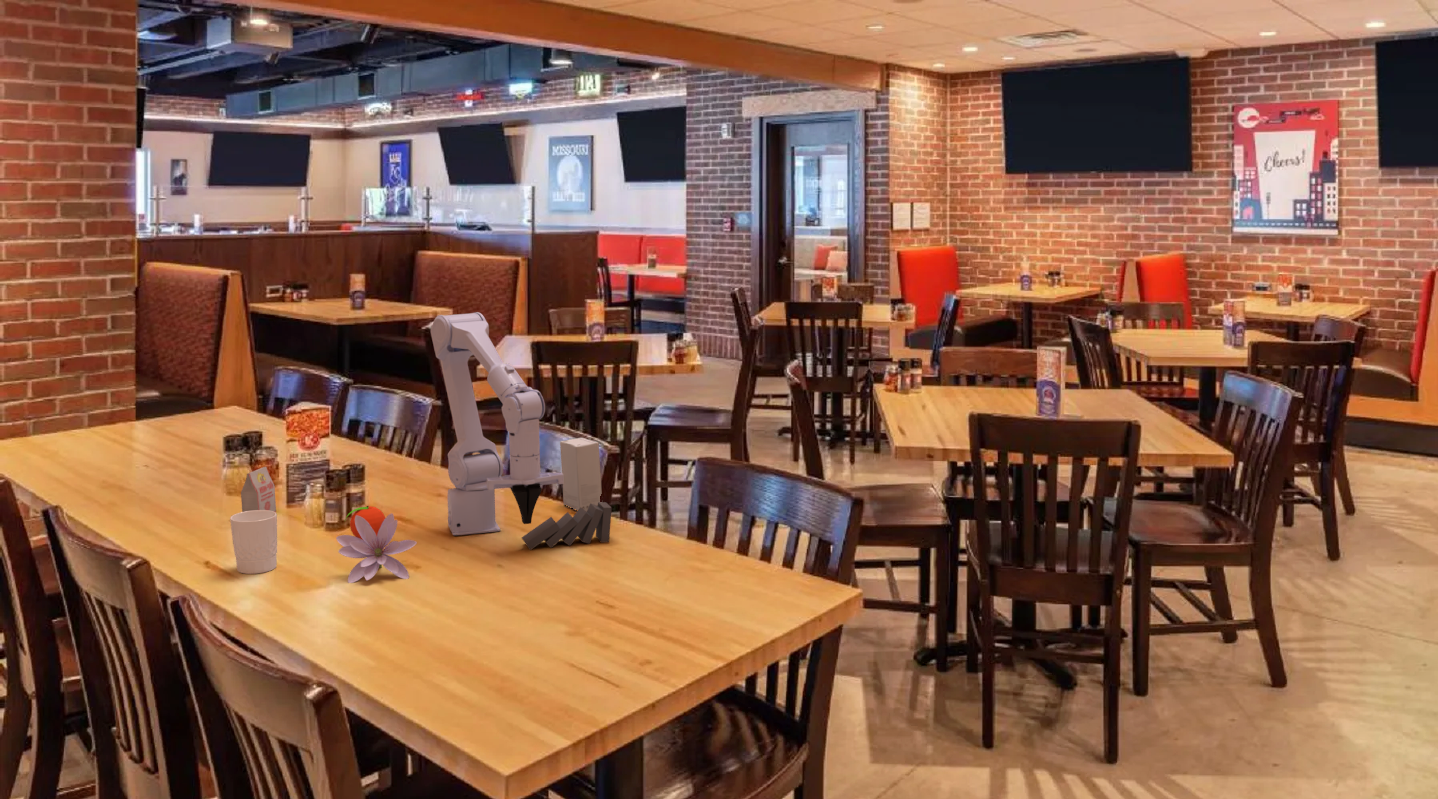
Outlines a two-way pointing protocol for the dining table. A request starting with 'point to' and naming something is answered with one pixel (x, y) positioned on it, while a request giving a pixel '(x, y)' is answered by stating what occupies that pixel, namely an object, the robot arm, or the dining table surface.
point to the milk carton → (258, 491)
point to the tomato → (367, 519)
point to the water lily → (374, 549)
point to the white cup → (255, 540)
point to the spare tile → (577, 526)
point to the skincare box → (580, 473)
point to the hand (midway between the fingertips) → (526, 522)
